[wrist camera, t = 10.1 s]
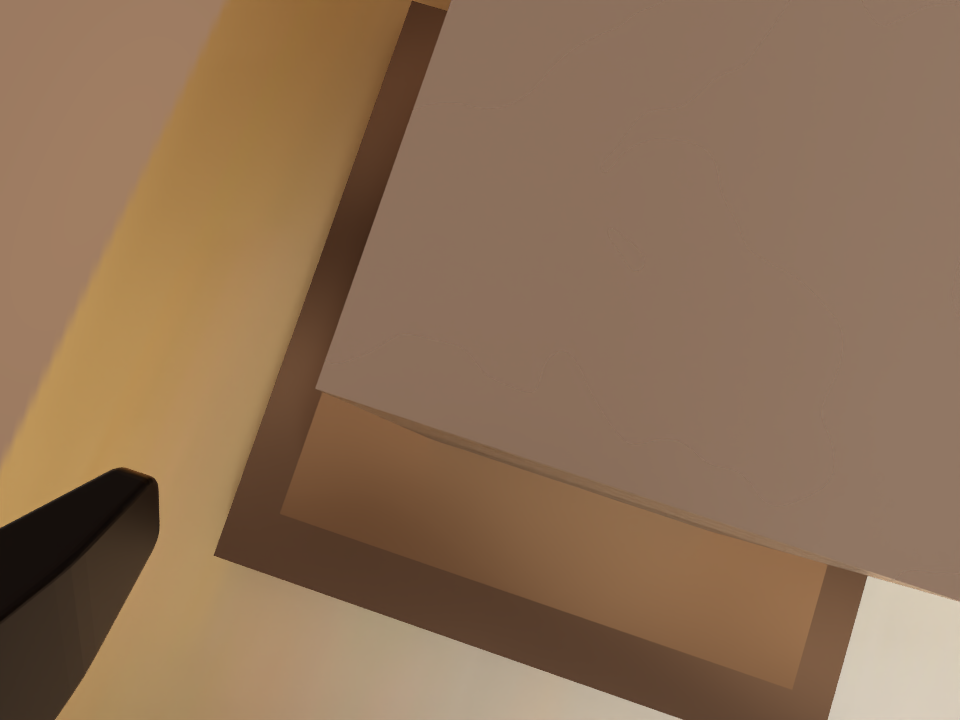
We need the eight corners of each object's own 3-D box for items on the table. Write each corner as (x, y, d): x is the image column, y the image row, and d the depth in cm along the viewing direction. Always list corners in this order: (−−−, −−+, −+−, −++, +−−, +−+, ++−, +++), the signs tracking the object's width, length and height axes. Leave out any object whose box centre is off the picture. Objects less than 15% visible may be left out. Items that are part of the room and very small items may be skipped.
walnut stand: (799, 750, 19) (850, 800, 16) (228, 551, 20) (179, 564, 17) (958, 182, 21) (1032, 133, 18) (416, 22, 22) (401, -50, 19)
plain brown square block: (708, 530, 17) (970, 604, 7) (428, 438, 18) (314, 388, 8) (789, 255, 18) (1136, -26, 8) (518, 173, 18) (519, -195, 8)
